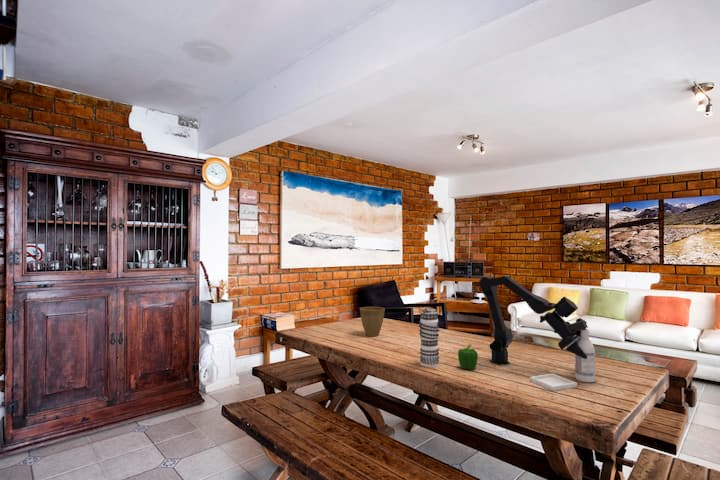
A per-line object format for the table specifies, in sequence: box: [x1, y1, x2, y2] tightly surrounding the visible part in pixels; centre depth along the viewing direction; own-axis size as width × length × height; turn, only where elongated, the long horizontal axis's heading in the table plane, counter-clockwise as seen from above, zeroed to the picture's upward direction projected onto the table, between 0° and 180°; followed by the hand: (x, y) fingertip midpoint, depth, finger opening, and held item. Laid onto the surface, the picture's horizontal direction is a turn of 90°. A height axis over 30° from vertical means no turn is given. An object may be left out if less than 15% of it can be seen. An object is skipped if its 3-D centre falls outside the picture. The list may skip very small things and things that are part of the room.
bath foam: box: [574, 328, 596, 383], centre depth 159 cm, size 7×7×20 cm
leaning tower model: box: [418, 307, 441, 368], centre depth 181 cm, size 9×9×25 cm
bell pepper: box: [457, 343, 479, 370], centre depth 175 cm, size 8×8×10 cm
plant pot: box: [359, 306, 386, 338], centre depth 237 cm, size 15×15×16 cm
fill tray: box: [529, 373, 578, 392], centre depth 154 cm, size 12×12×2 cm
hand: (588, 356), depth 158 cm, fingers closed on bath foam, 7 cm apart
